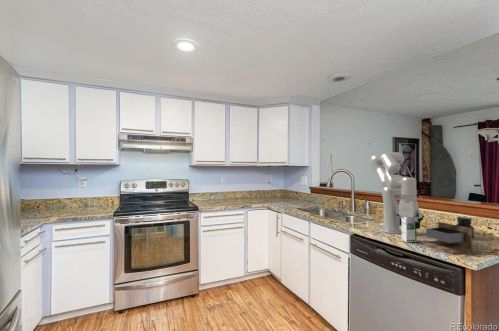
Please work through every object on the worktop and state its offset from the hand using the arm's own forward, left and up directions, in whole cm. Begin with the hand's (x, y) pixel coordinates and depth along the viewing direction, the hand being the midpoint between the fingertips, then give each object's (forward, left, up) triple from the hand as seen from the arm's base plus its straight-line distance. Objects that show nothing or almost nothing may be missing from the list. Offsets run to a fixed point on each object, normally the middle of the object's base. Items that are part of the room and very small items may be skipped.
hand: (409, 226), depth 140 cm
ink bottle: (+1, +45, -9) cm, 46 cm away
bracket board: (+14, +8, -9) cm, 19 cm away
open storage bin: (+14, +8, -4) cm, 17 cm away
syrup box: (-1, 0, -9) cm, 9 cm away
